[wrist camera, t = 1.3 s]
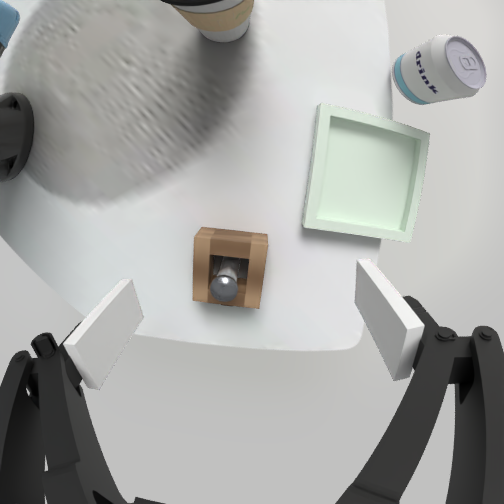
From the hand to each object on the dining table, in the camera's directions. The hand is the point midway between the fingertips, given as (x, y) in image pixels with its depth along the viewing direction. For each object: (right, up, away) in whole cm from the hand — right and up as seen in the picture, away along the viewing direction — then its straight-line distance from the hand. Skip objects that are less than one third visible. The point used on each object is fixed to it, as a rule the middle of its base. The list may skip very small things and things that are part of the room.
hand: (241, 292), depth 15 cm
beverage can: (+21, +24, +10) cm, 33 cm away
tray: (+14, +11, +15) cm, 24 cm away
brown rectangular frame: (-2, +1, +20) cm, 20 cm away
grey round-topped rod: (-2, +1, +20) cm, 20 cm away
